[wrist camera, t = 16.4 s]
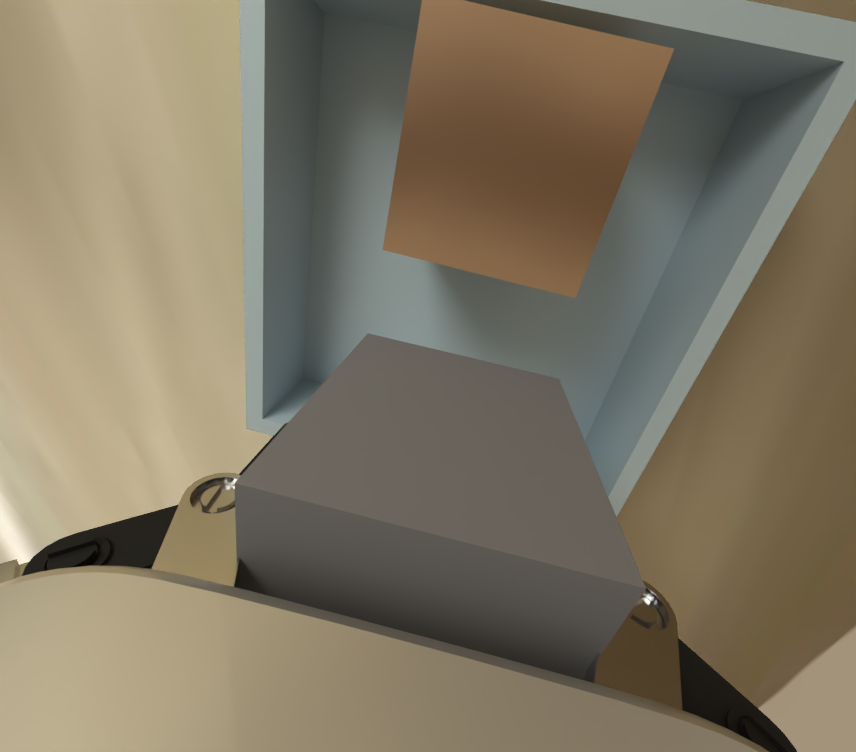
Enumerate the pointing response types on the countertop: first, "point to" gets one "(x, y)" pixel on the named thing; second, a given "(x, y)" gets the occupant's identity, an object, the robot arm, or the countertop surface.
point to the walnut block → (515, 142)
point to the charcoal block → (441, 509)
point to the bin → (502, 300)
